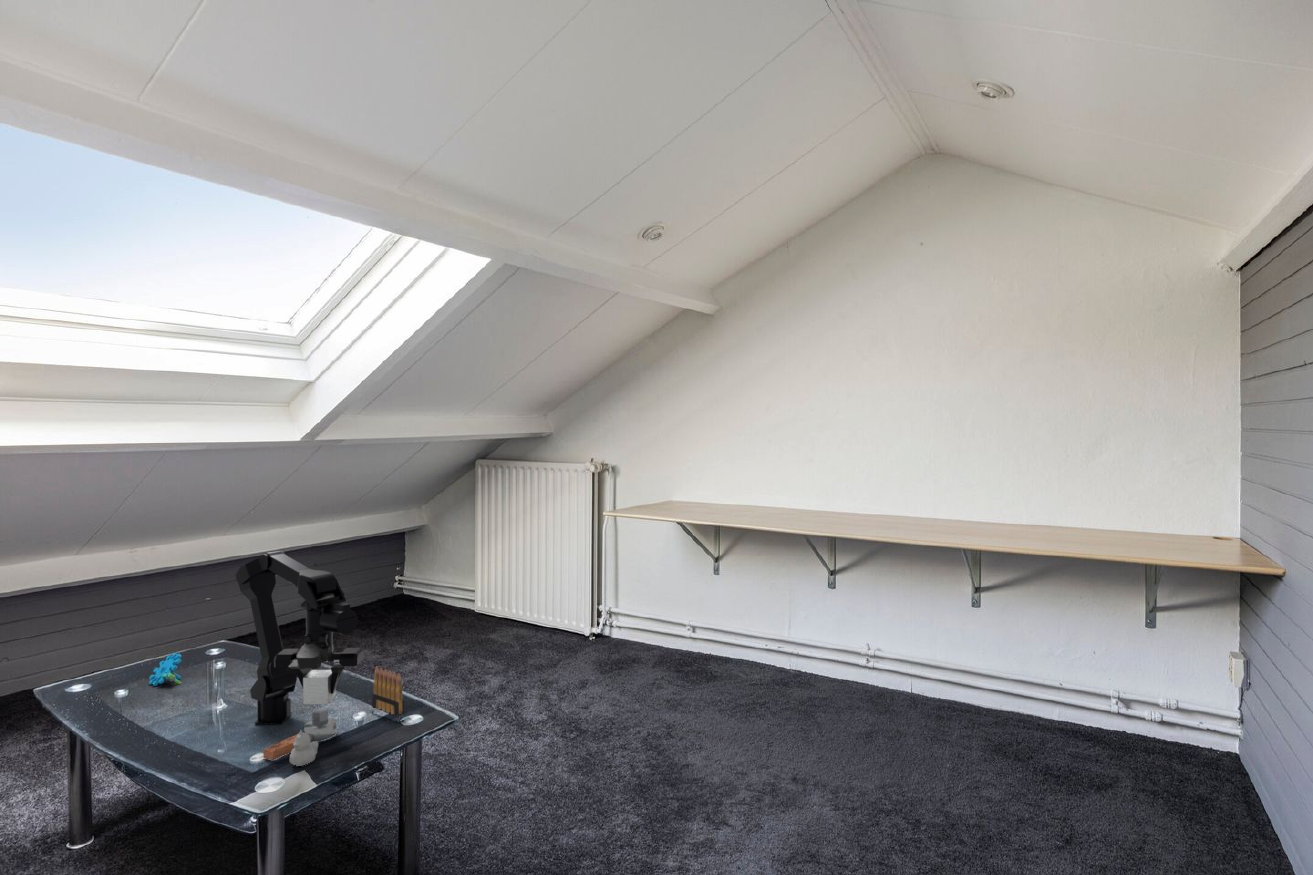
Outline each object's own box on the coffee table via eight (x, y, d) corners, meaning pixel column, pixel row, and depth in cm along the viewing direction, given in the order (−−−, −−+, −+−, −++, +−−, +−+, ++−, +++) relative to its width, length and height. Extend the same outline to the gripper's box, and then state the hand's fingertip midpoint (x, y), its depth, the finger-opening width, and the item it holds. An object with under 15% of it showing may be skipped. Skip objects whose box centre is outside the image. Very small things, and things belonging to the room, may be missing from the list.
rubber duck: (282, 766, 167) (282, 730, 166) (309, 755, 173) (309, 719, 172) (299, 772, 164) (299, 735, 164) (325, 760, 170) (325, 724, 170)
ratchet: (321, 728, 187) (321, 703, 187) (343, 733, 184) (342, 708, 184) (257, 757, 171) (256, 730, 171) (279, 763, 168) (279, 736, 168)
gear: (144, 674, 219) (173, 646, 223) (161, 685, 223) (190, 657, 226) (150, 690, 211) (181, 660, 215) (168, 701, 215) (198, 671, 218)
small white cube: (303, 704, 179) (303, 677, 179) (311, 695, 185) (311, 669, 184) (327, 703, 180) (327, 677, 179) (335, 695, 185) (335, 669, 185)
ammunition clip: (371, 713, 197) (371, 666, 196) (378, 710, 198) (377, 664, 198) (398, 722, 191) (397, 674, 190) (404, 720, 192) (404, 672, 192)
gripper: (263, 638, 173) (264, 707, 173) (349, 637, 174) (350, 705, 175) (283, 624, 184) (283, 689, 184) (364, 623, 185) (364, 687, 186)
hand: (319, 693), depth 182 cm, fingers closed on small white cube, 5 cm apart
